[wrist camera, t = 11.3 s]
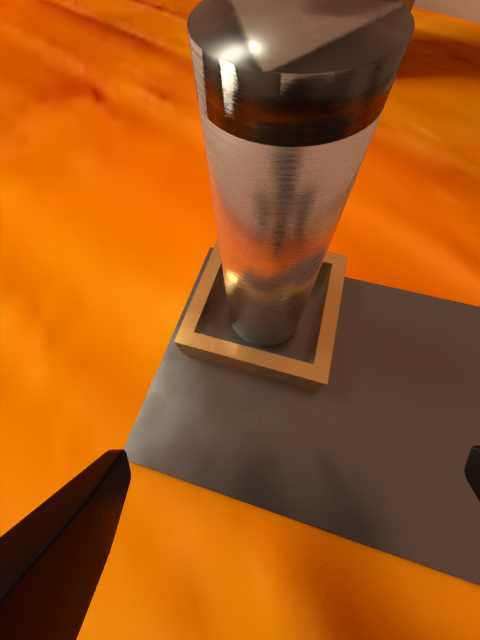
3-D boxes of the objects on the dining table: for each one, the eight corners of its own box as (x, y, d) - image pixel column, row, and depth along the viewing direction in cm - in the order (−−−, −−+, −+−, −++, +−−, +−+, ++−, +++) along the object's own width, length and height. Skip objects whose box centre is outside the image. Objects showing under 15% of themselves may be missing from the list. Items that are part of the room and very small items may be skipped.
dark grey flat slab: (546, 605, 12) (628, 648, 9) (126, 457, 15) (100, 458, 12) (508, 321, 17) (552, 299, 15) (211, 254, 20) (206, 226, 18)
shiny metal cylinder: (276, 359, 16) (355, 101, 4) (215, 322, 17) (140, 36, 5) (312, 304, 17) (445, -2, 6) (254, 272, 18) (263, -36, 7)
